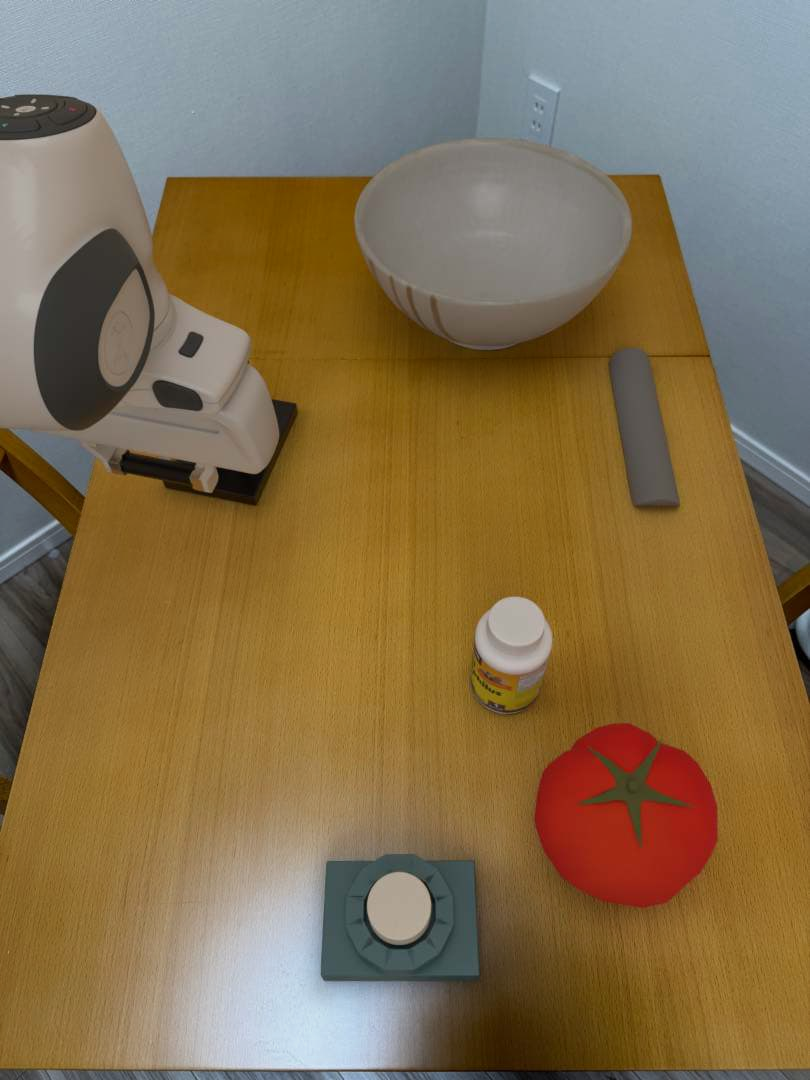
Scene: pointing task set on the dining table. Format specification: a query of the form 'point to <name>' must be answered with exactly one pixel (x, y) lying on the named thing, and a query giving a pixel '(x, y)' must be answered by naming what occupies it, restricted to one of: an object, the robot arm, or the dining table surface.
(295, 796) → the dining table surface
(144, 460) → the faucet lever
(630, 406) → the gray half cylinder
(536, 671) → the supplement bottle
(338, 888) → the push button box
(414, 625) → the dining table surface
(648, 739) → the tomato
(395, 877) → the beige push button
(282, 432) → the lever stand
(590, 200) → the decorative bowl
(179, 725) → the dining table surface
